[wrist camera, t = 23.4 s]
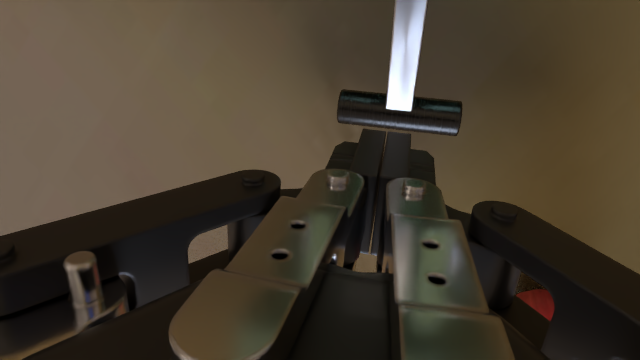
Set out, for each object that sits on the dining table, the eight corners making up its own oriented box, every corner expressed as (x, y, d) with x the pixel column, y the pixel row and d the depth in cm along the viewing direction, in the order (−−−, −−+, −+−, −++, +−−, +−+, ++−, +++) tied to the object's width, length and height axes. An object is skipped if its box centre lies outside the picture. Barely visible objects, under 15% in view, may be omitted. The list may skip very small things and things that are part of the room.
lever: (456, 114, 21) (455, 151, 19) (344, 102, 22) (334, 137, 20) (527, -188, 13) (535, -167, 11) (347, -189, 14) (332, -170, 12)
